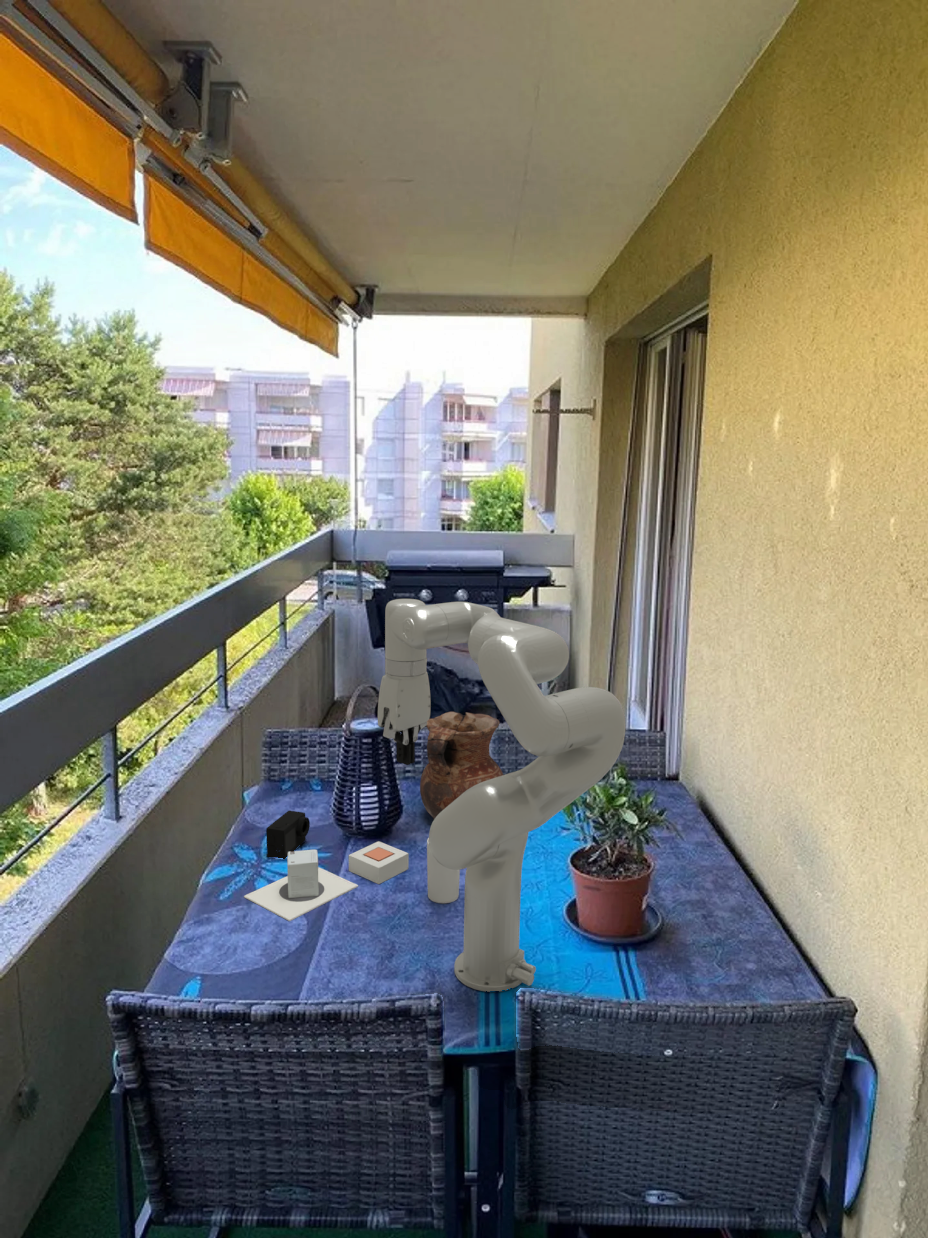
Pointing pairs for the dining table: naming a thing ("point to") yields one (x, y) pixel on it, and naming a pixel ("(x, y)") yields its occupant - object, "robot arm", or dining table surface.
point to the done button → (378, 854)
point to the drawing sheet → (291, 908)
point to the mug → (441, 880)
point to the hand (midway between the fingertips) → (405, 762)
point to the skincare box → (302, 873)
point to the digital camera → (286, 834)
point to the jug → (456, 758)
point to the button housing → (378, 863)
